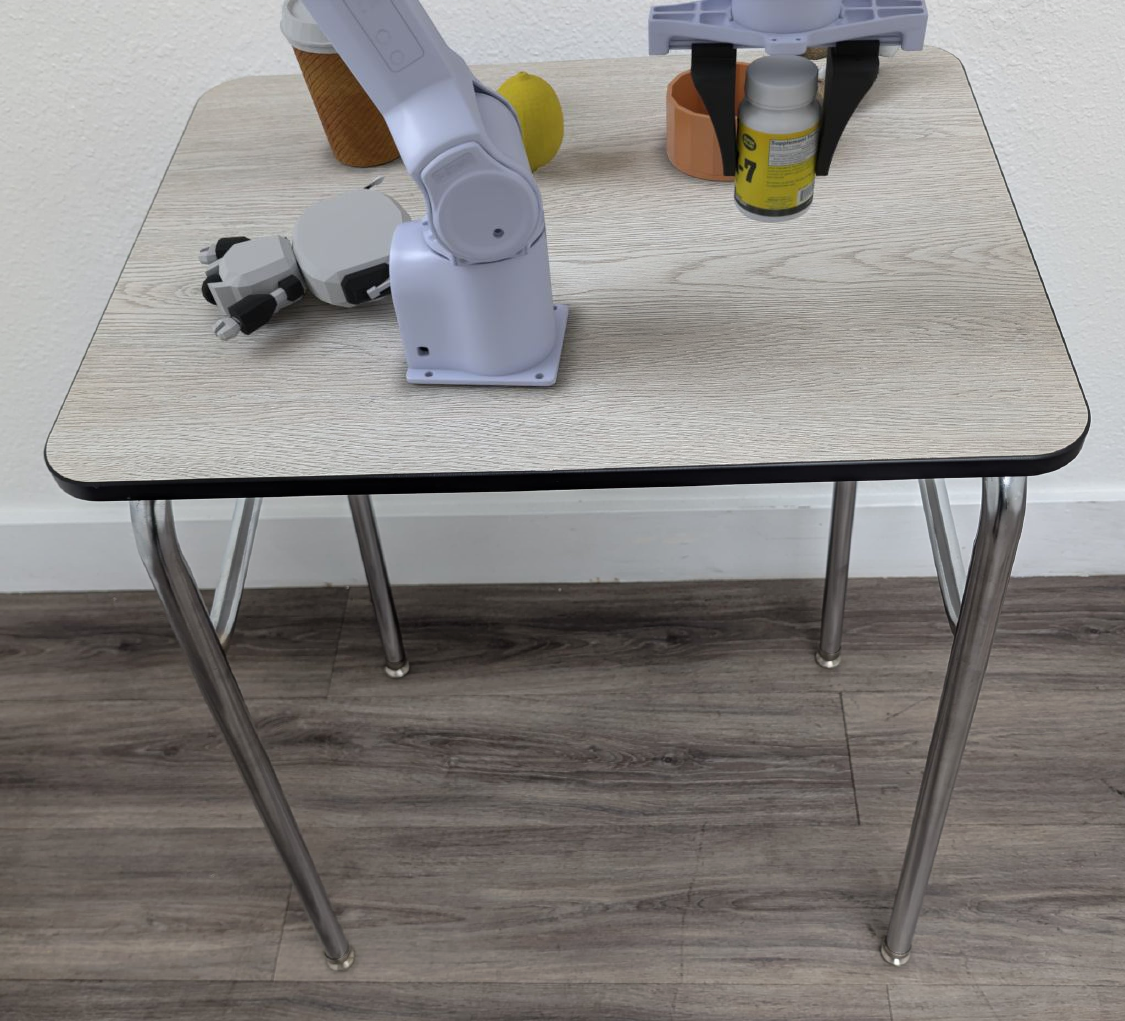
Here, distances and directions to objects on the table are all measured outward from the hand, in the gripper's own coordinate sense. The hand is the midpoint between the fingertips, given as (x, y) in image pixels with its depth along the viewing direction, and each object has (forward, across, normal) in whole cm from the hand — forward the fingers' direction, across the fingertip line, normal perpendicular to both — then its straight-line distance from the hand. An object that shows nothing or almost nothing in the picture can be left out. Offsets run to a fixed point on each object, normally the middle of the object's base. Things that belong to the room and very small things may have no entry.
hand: (774, 167), depth 65 cm
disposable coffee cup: (+10, -32, +21) cm, 40 cm away
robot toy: (+10, -31, +1) cm, 32 cm away
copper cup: (+10, -3, +20) cm, 23 cm away
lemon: (+10, -18, +17) cm, 27 cm away
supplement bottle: (+3, 0, 0) cm, 3 cm away
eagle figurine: (+10, +6, +30) cm, 32 cm away
